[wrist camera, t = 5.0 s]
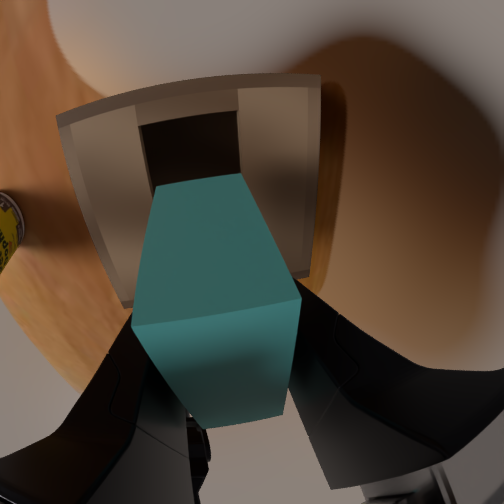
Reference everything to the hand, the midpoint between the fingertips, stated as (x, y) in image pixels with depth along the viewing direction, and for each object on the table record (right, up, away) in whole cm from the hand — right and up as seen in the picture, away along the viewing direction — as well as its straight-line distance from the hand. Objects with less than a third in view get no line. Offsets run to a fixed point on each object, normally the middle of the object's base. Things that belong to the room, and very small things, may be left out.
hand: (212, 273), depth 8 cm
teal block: (0, +1, +1) cm, 1 cm away
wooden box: (-3, +7, +9) cm, 11 cm away
